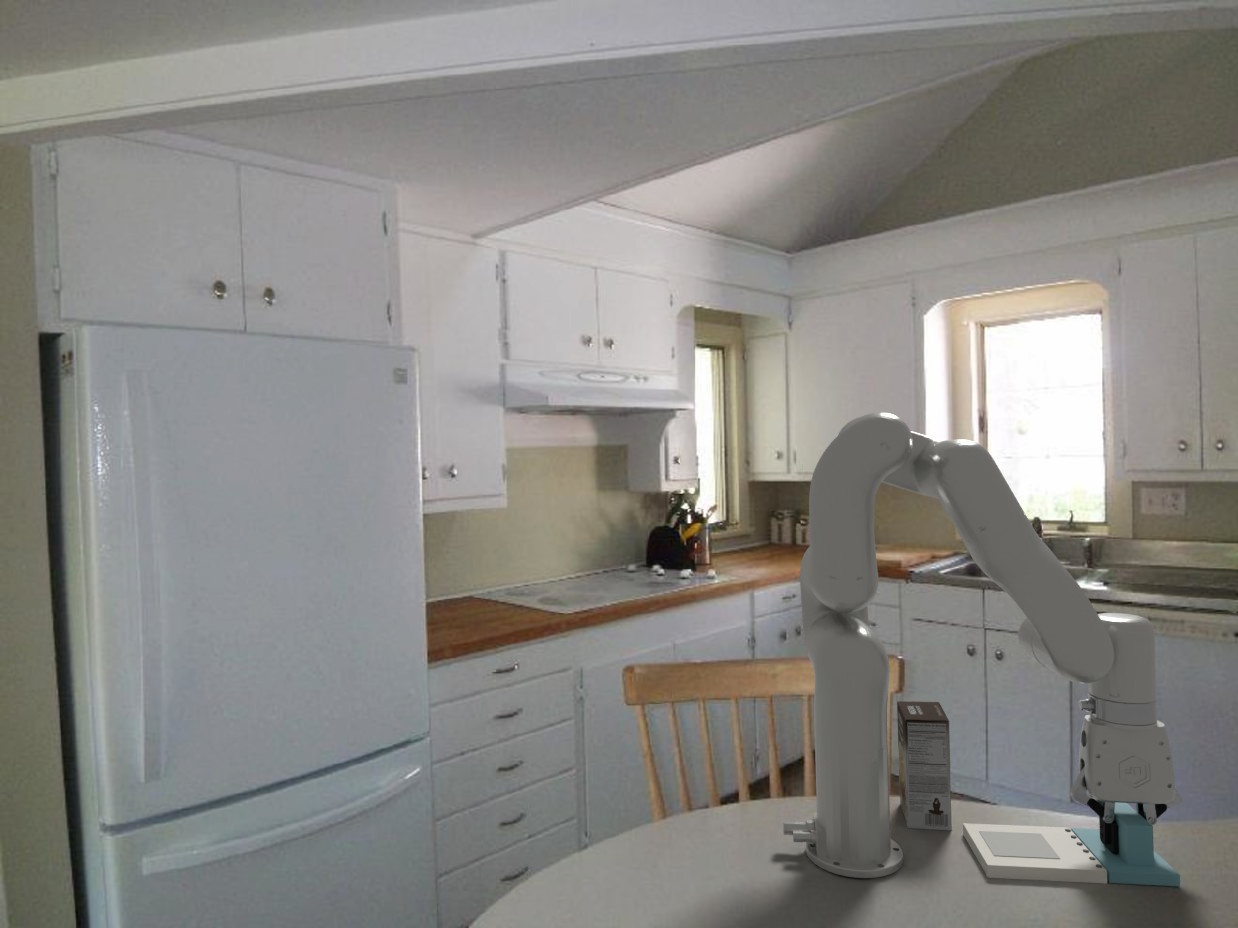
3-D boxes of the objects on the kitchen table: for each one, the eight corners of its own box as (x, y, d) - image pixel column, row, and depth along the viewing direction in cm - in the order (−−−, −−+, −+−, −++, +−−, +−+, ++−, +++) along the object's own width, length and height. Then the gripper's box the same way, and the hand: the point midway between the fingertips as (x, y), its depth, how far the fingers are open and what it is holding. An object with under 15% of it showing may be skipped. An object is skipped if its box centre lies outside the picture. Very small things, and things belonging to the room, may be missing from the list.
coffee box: (898, 802, 126) (895, 699, 126) (942, 805, 125) (939, 700, 125) (907, 829, 117) (904, 718, 117) (954, 831, 116) (951, 719, 116)
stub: (1109, 882, 101) (1108, 831, 101) (1071, 838, 112) (1070, 792, 112) (1180, 886, 99) (1178, 834, 99) (1134, 840, 111) (1132, 794, 111)
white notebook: (988, 877, 103) (987, 863, 103) (963, 834, 115) (962, 822, 115) (1107, 883, 101) (1106, 869, 101) (1069, 838, 112) (1068, 826, 112)
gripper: (1066, 717, 103) (1070, 860, 103) (1207, 720, 101) (1211, 867, 101) (1045, 700, 111) (1048, 834, 111) (1175, 702, 108) (1179, 839, 108)
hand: (1126, 848), depth 106 cm, fingers closed on stub, 3 cm apart
